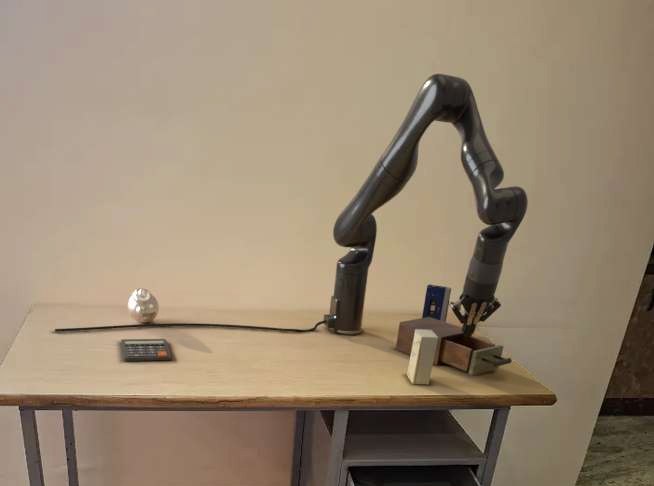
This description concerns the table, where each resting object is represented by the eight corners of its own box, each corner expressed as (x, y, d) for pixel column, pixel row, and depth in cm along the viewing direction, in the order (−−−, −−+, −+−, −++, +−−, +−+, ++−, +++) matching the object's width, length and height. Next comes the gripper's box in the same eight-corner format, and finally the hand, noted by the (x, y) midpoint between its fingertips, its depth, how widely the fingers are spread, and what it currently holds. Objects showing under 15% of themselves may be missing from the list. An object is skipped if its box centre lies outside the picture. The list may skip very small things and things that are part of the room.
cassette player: (420, 323, 221) (427, 284, 215) (422, 321, 223) (428, 283, 217) (443, 327, 219) (450, 288, 213) (445, 325, 221) (452, 286, 215)
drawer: (514, 374, 182) (519, 351, 179) (487, 381, 176) (492, 357, 173) (456, 352, 195) (460, 331, 192) (430, 358, 188) (433, 336, 185)
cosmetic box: (406, 375, 178) (414, 328, 172) (423, 376, 179) (431, 329, 172) (412, 384, 173) (420, 336, 167) (430, 385, 173) (438, 337, 167)
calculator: (123, 357, 174) (121, 338, 186) (124, 360, 174) (121, 342, 187) (171, 356, 177) (165, 338, 189) (171, 359, 177) (165, 341, 190)
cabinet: (465, 358, 193) (471, 331, 189) (436, 365, 187) (441, 337, 183) (424, 343, 203) (429, 316, 200) (395, 349, 197) (399, 322, 193)
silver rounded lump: (122, 325, 201) (120, 289, 196) (135, 316, 209) (134, 282, 204) (152, 328, 199) (151, 293, 194) (164, 320, 207) (163, 285, 202)
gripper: (504, 262, 167) (486, 323, 180) (451, 267, 165) (437, 328, 178) (516, 280, 162) (497, 341, 175) (462, 284, 160) (446, 346, 173)
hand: (466, 334), depth 177 cm, fingers closed
